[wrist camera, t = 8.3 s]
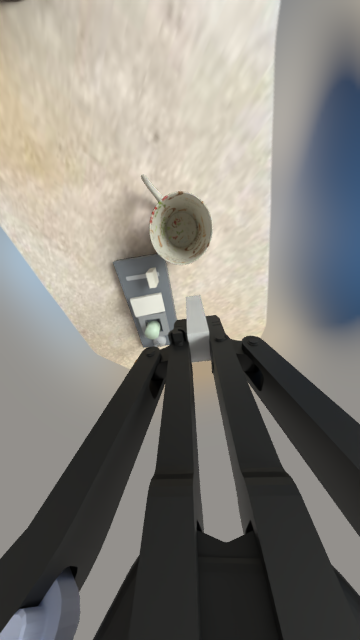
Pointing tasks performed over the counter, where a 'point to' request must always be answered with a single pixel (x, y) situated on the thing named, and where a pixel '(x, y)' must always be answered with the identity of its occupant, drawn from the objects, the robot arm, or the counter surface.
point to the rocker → (147, 304)
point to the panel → (137, 285)
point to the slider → (152, 277)
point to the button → (152, 329)
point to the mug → (179, 226)
